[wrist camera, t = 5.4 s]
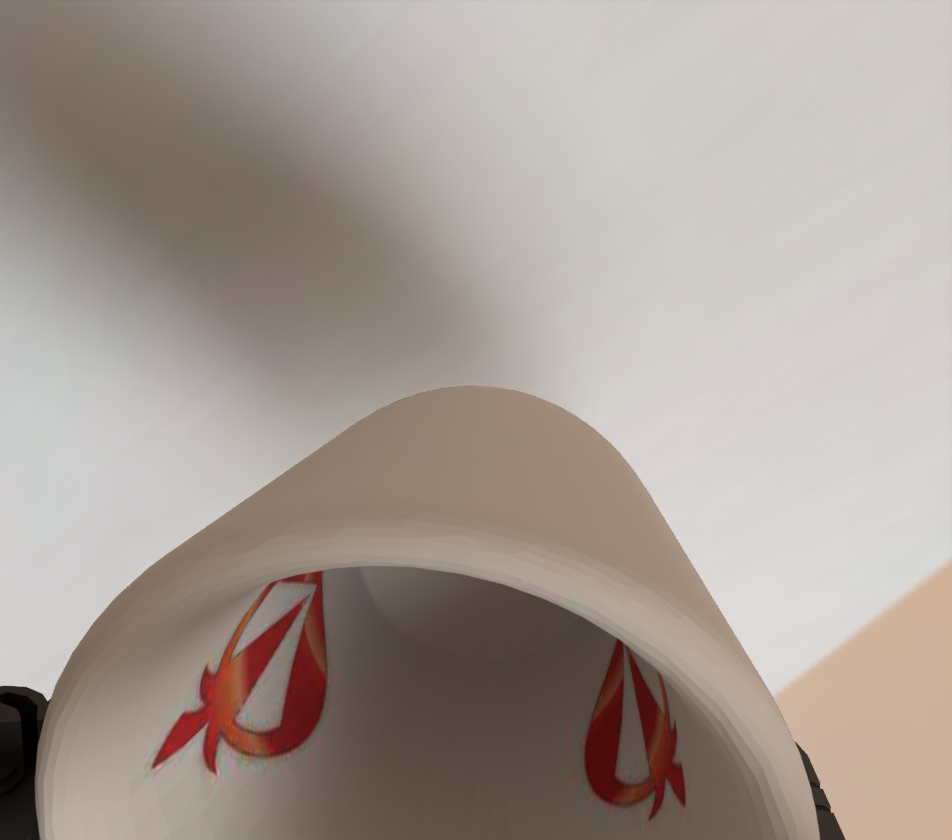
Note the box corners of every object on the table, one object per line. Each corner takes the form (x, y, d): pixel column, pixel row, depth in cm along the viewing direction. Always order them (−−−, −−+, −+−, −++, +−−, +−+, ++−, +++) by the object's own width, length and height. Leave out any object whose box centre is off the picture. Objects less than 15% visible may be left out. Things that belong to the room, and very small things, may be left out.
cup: (627, 820, 16) (688, 1354, 9) (287, 765, 17) (73, 1226, 9) (720, 360, 13) (944, 589, 6) (295, 312, 14) (-26, 461, 6)
